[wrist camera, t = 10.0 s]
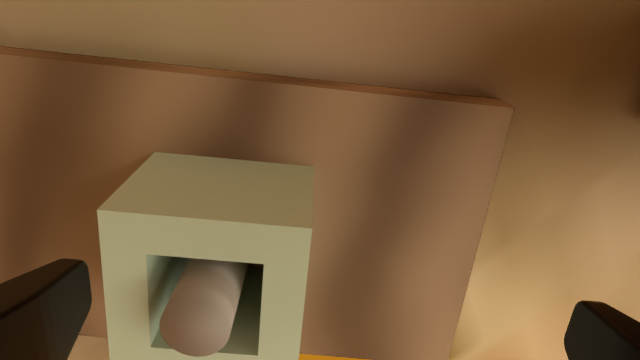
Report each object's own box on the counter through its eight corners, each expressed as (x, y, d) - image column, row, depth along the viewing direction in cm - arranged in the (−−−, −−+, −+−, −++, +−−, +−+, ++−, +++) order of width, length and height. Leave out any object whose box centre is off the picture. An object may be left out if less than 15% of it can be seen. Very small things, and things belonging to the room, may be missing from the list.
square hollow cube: (314, 166, 18) (312, 228, 13) (301, 297, 20) (295, 389, 16) (154, 151, 18) (96, 209, 13) (159, 285, 20) (111, 375, 15)
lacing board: (499, 99, 19) (607, 166, 12) (438, 343, 23) (490, 496, 16) (-24, 43, 18) (-244, 80, 11) (18, 307, 22) (-118, 452, 15)
